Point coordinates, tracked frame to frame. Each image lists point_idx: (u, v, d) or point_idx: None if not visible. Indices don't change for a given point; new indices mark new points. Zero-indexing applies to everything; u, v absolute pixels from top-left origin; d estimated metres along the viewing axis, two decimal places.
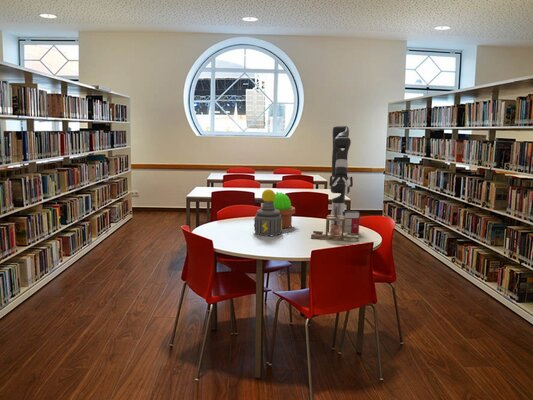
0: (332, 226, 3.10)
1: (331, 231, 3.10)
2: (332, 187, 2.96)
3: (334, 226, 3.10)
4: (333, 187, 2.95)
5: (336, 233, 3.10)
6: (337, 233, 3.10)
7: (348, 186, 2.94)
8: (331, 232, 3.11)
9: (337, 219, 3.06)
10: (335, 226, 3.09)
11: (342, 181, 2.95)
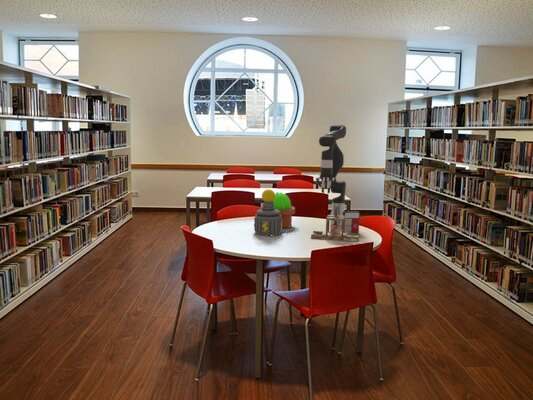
0: (332, 226, 3.10)
1: (331, 231, 3.10)
2: None
3: (334, 226, 3.10)
4: (322, 188, 3.10)
5: (336, 233, 3.10)
6: (337, 233, 3.10)
7: (328, 187, 3.09)
8: (331, 232, 3.11)
9: (337, 219, 3.06)
10: (335, 226, 3.09)
11: (326, 180, 3.09)
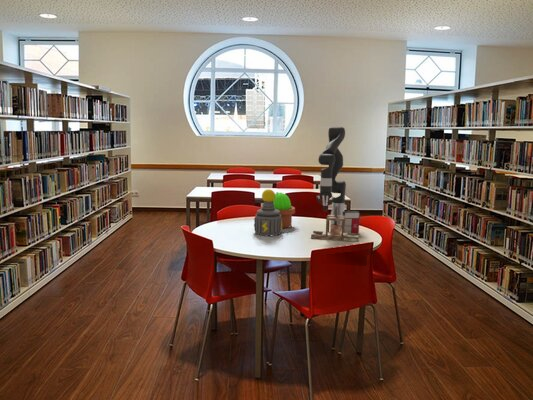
0: (332, 226, 3.10)
1: (331, 231, 3.10)
2: (323, 206, 3.12)
3: (334, 226, 3.10)
4: (324, 206, 3.11)
5: (336, 233, 3.10)
6: (337, 233, 3.10)
7: None
8: (331, 232, 3.11)
9: (337, 219, 3.06)
10: (335, 226, 3.09)
11: (325, 197, 3.10)
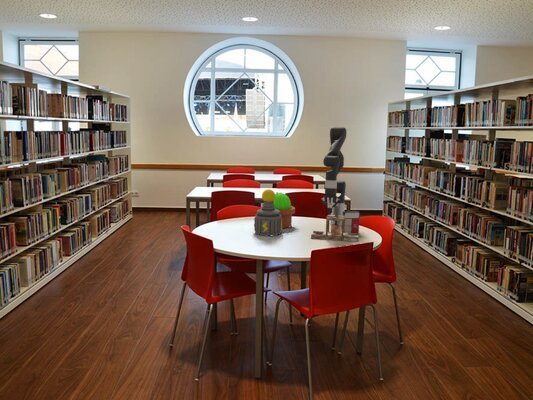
0: (333, 226, 3.10)
1: (332, 231, 3.10)
2: (328, 208, 3.11)
3: (335, 226, 3.10)
4: (328, 208, 3.11)
5: (337, 233, 3.10)
6: (338, 233, 3.10)
7: (330, 207, 3.10)
8: (332, 232, 3.10)
9: (337, 219, 3.06)
10: (336, 226, 3.09)
11: (329, 199, 3.10)
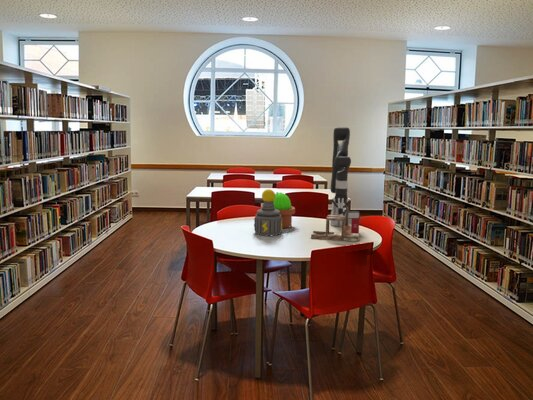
0: None
1: None
2: (338, 209, 3.10)
3: (345, 227, 3.08)
4: (339, 209, 3.09)
5: (347, 234, 3.08)
6: (348, 234, 3.08)
7: (341, 207, 3.09)
8: None
9: (337, 219, 3.06)
10: (346, 227, 3.08)
11: (340, 200, 3.08)
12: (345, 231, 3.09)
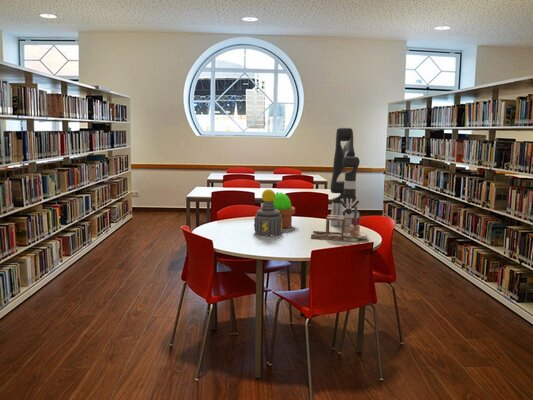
0: (352, 227, 3.07)
1: (351, 232, 3.08)
2: (347, 209, 3.09)
3: (354, 227, 3.07)
4: (347, 209, 3.08)
5: (356, 234, 3.07)
6: (357, 234, 3.07)
7: (349, 208, 3.08)
8: (351, 233, 3.08)
9: (337, 219, 3.06)
10: (355, 227, 3.07)
11: (348, 200, 3.07)
12: (353, 232, 3.07)
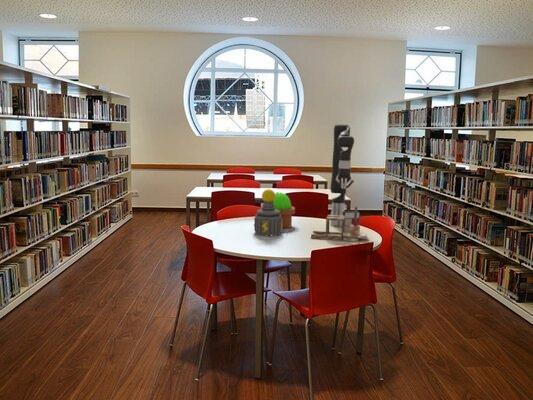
0: (352, 227, 3.07)
1: (351, 232, 3.08)
2: (341, 189, 3.09)
3: (354, 227, 3.07)
4: (342, 189, 3.09)
5: (356, 234, 3.07)
6: (357, 234, 3.07)
7: (344, 188, 3.08)
8: (351, 233, 3.08)
9: (337, 219, 3.06)
10: (355, 227, 3.07)
11: (343, 180, 3.08)
12: (354, 232, 3.07)
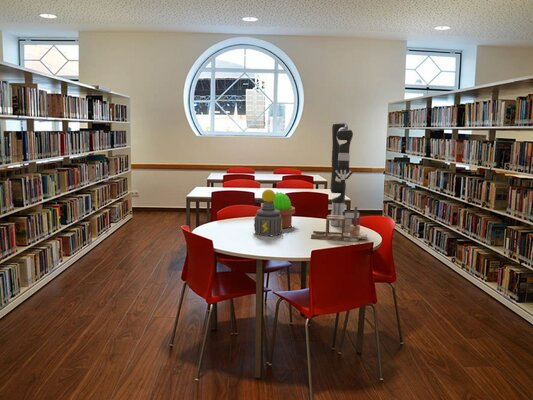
0: (352, 227, 3.07)
1: (351, 232, 3.08)
2: (341, 180, 3.22)
3: (354, 227, 3.07)
4: (341, 180, 3.22)
5: (356, 234, 3.07)
6: (357, 234, 3.07)
7: (343, 179, 3.21)
8: (351, 233, 3.08)
9: (337, 219, 3.06)
10: (355, 227, 3.07)
11: (342, 172, 3.21)
12: (354, 232, 3.07)
